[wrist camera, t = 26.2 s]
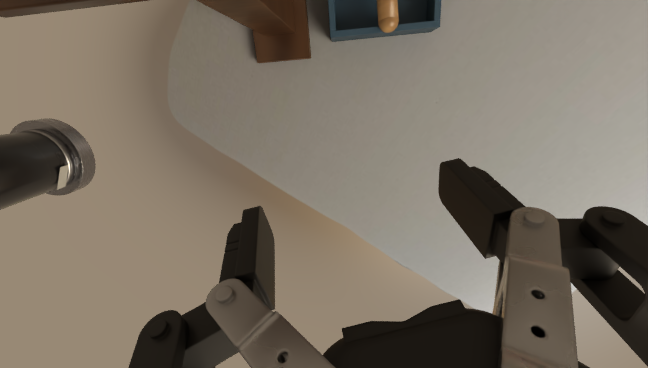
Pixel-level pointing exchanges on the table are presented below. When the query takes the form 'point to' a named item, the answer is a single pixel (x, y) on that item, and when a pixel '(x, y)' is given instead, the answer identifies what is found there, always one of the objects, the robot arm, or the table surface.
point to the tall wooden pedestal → (237, 3)
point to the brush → (387, 15)
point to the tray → (362, 18)
